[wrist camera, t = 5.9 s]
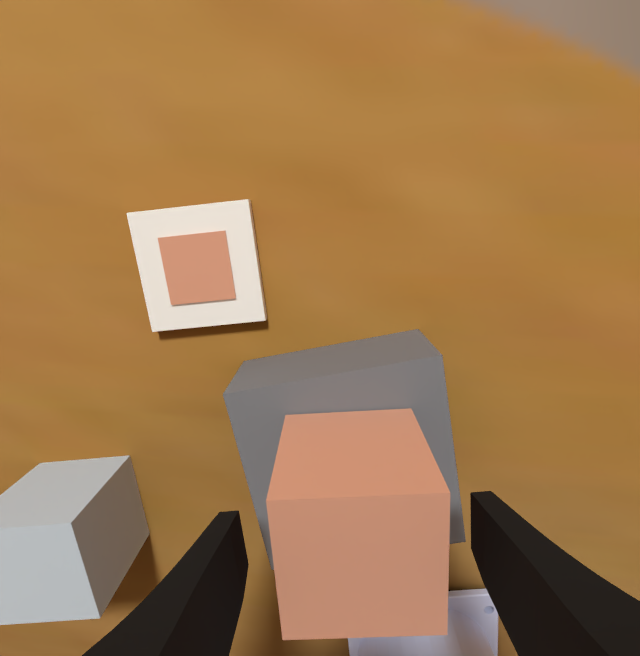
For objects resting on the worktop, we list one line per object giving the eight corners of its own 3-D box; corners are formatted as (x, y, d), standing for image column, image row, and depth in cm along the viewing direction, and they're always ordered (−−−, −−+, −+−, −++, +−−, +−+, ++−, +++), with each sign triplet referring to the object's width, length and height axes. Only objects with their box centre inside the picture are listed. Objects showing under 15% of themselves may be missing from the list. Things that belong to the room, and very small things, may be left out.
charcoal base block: (437, 479, 19) (465, 541, 15) (282, 503, 20) (271, 569, 16) (416, 327, 17) (441, 354, 14) (245, 358, 18) (223, 394, 14)
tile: (267, 318, 17) (265, 321, 16) (157, 328, 17) (151, 332, 17) (250, 200, 16) (247, 198, 15) (132, 213, 16) (125, 213, 15)
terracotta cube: (412, 515, 15) (447, 635, 11) (295, 520, 15) (282, 639, 11) (411, 408, 14) (450, 492, 10) (285, 415, 14) (265, 500, 10)
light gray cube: (150, 532, 20) (100, 618, 16) (65, 538, 20) (-9, 625, 16) (130, 454, 19) (70, 523, 15) (41, 462, 19) (-46, 531, 15)
